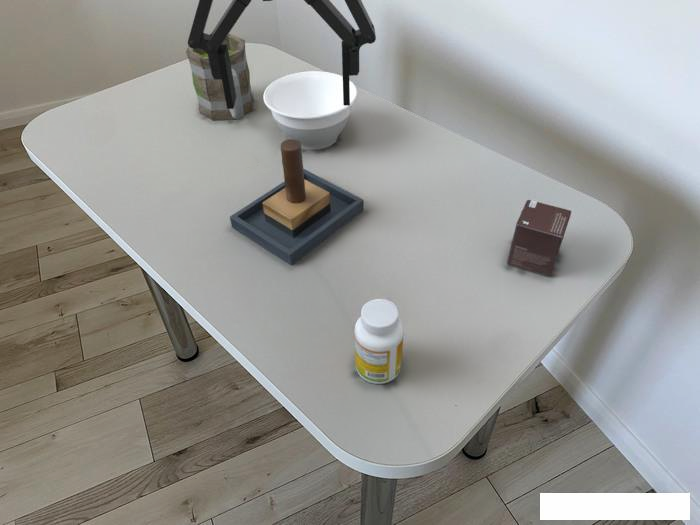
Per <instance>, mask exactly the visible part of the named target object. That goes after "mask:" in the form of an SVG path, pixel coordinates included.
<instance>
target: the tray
mask: <svg viewBox="0 0 700 525" xmlns="http://www.w3.org/2000/svg"><path fill="white" fill-rule="evenodd" d="M303 170H304V179H305V180H307V181H309V182H311V183H312V184H314V185H316V186H318V187H320V188H322V189H324V190H326V191H327V192H329V193H330V207H331V211H330V212H328V213H327V214H326V215H324V216H323V217H322V218H320V219H319V220H317V221H316V222H315V223H313V224H312V225H311V226H309V227H308V228H306V229H305V230H304V231H302V232H301V233H300V234H298V235H297V236H295V237H294V238H293V237H291V236H290V235H288V234H286V233H285V232H283V231H281V230H280V229H278V228H276V227H275V226H273V225H272V224H270V223H268V222H267V221H265V216H264V209H263V202H264V201H266V200H267V199H269V198H270V197H272V196H273V195H275V194H276V193H278V192H279V191H281V190H282V189H284V188H285V180H284V181H283V182H281V183H280V184H278V185H276V186H275V187H273V188H272V189H270V190H269V191H267V192H266V193H264V194H262V195H261V196H260V197H258V198H256V199H255V200H253V201H251V202H250V203H249V204H247V205H246V206H243V207H242V208H241V209H239V210H237V211H235V212H234V213H233V214H231V215H230V216H229V219H230V220H229V221H230V224H231V228H232V229H233V230H235V231H237V232H239V233H240V234H242V235H244V236H245V237H246V238H247V239H250V240H251V241H252V242H254V243H256V244H257V245H259V246H260V247H262V248H264V249H265V250H266V251H268V252H270V253H271V254H273V255H274V256H275V257H278V258H279V259H281V260H282V261H283V262H285V263H287V264H288V265H290V266H293V265H294V264H295V263H297V262H298V261H299V260H301V259H302V258H304V256H306V255H307V254H308V253H310V252H311V251H312V250H314V249H315V248H316V247H317V246H319V245H320V244H322V243H323V242H325V241H326V240H327V239H328V238H329V237H331V236H332V235H333V234H335V233H336V232H338V231H339V230H340V229H341V228H343V227H344V226H345V225H346V224H348V223H350V222H351V221H352V220H353V219H354V218H356V217H357V216H358V215H360V214H361V213H362V212H364V206H365V205H364V204H365V203H364V201H365V200H364V199H363V198H360V197H359V196H357V195H355V194H354V193H351V192H349V191H348V190H345V189H344V188H342V187H340V186H338V185H336V184H334V183H332V182H330V181H328V180H326V179H324V178H322V177H321V176H319V175H317V174H315V173H313V172H311V171H309V170H308V169H305V168H303Z"/></svg>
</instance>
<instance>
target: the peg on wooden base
mask: <svg viewBox="0 0 700 525" xmlns="http://www.w3.org/2000/svg"><path fill="white" fill-rule="evenodd" d="M280 154H281V161H282V162H281V163H282V169H283V170H282V171H283V178H284V181H285V188H284V189H282V190H281V191H279V192H278V193H276V194H275V195H273V196H272V197H270V198H269V199H267V200H266V201H264V202H263V209H264V216H265V221H267V222H268V223H270V224H272V225H273V226H275V227H276V228H278V229H280V230H281V231H283V232H285V233H286V234H288V235H290V236H291V237H293V238H294V237H295V236H297V235H298V234H300V233H301V232H302V231H304V230H305V229H306V228H308V227H309V226H311V225H312V224H313V223H315V222H316V221H317V220H319V219H320V218H322V217H323V216H324V215H326V214H327V213H328V212H330V211H331V207H330V193H329V192H327V191H326V190H324V189H322V188H320V187H318V186H316V185H314V184H312V183H311V182H309V181H307V180H305V179H304V170H303V169H304V160H303V149H302V148H301V143H300V141H298V140H295V139H289V138H288V139H285V140H283V141H282V142H281V143H280Z"/></svg>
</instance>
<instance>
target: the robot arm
mask: <svg viewBox="0 0 700 525" xmlns="http://www.w3.org/2000/svg"><path fill="white" fill-rule="evenodd" d="M262 1H263V2H271V1H273V0H262ZM303 1H304V2H305V3H306V5H308V6H310V7H311V8H312V9H313V10H314V11H315V12H316V14H318V16H320V18H321V19H322V20H323V21H324V22H325V23H326V24H327V25H328V27H329V28H330V29H331V30H332V31H333V32H334V33H335V35H337V36H338V37H339V38H340V39H341V66H342V69H341V70H342V76H343V105H344V106H346V105H350V85H349V80H350V76H351V77H353V76H359V73H360V49H361V48H362V46H365V45H366V44H370V45H371V44H374V43H375V42H376V39H377V34H376V29H375V25H374V23H373V21H372V19H371V17H370V15H369V13H368V11H367V9H366V7H365V5H364V2H363V0H344V2H345V4H346V7H347V8H348V10H349V12H350V15H351V16H352V18H353V20H354V22H355V24H356V25H357V28H358V29H355V27H354V26H353V25H352V24H351V23H350V22H349V21H348V19H346V16H344V15H343V14H342V13H341V12H340V10H339V9H338V8H337V7H336V6H335V5H334V4H333V2H332V1H331V0H303ZM213 3H214V0H199V1H198V4H197V7H196V11H195V13H194V18H193V21H192V24H191V28H190V31H189V35H188V39H187V46H188V45H189V47H190V48H192V49H196V48H199V49H202V50H204V51H206V52H207V54H208V58H209V63H210V68H211V73H212V76H213V78H214V80H219V79H222V83H223V89H224V94H225V100H226V105H227V109H234V105H235V101H236V92H235V86H234V81H233V75H232V69H231V63H230V57H229V52H228V46H227V44H224V45H221V44H222V43H223V41H224V40H225V38H226V37H227V35H228V34H230V32H231V31H232V30H233V28H234V26H235V25H236V23H237V22H238V21H239V19H240V17H241V16H242V14H243V13H244V12H245V10H246V8H248V6H249V5H250V4H251V3H252V0H232V1H231V3H230V4H229V5H228V7H227V9H226V10H225V12H224V13H223V15H222V16H221V17H220V19H219V21H218V22H217V24H216V25H215V27H214V28H213V30H212V32H211V33H209V34H208V33H206V32H205V29H206V26H207V23H208V20H209V16H210V13H211V10H212V5H213Z"/></svg>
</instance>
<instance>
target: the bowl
mask: <svg viewBox="0 0 700 525" xmlns="http://www.w3.org/2000/svg"><path fill="white" fill-rule="evenodd" d="M349 85H350V105H346V106H344V105H343V75H340V74H338V73H334V72H330V71H329V72H328V71H321V70H320V71H319V70H311V71H310V70H309V71H300V72H294V73H291V74H287V75H284V76H281V77H279V78H277V79H275V80H273V81H272V82H271V83H270V84H268V85H267V87H266V88H265V90H264V92H263V102H264V104H265V106H266V107H267V108H268V109H269V110H270V111H271V115H272V117H273V119H274V122H275V124H276V125H277V127H278V128H279V130H280V131H281V132H282V133H283V134H284V135H285V136H286V137H287V138H288V140H289V139H295V140H298V141H300V143H301V148H302V150H307V151H316V150H318V151H319V150H322V149H325V148H328V147H331V146H332V145H334V144H335V143H336V142H337V140H338V137H339V135H340V133H341V132H342V131H343V130H344V128H345V126H346V125H347V123H348V121H349V119H350V115H351V111H352V105H353V104H354V103H355V102H356V101H357V98H358V93H359V92H358V89H357V86H356V85H355V84H354V82H353V81H351V80H350V79H349Z"/></svg>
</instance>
